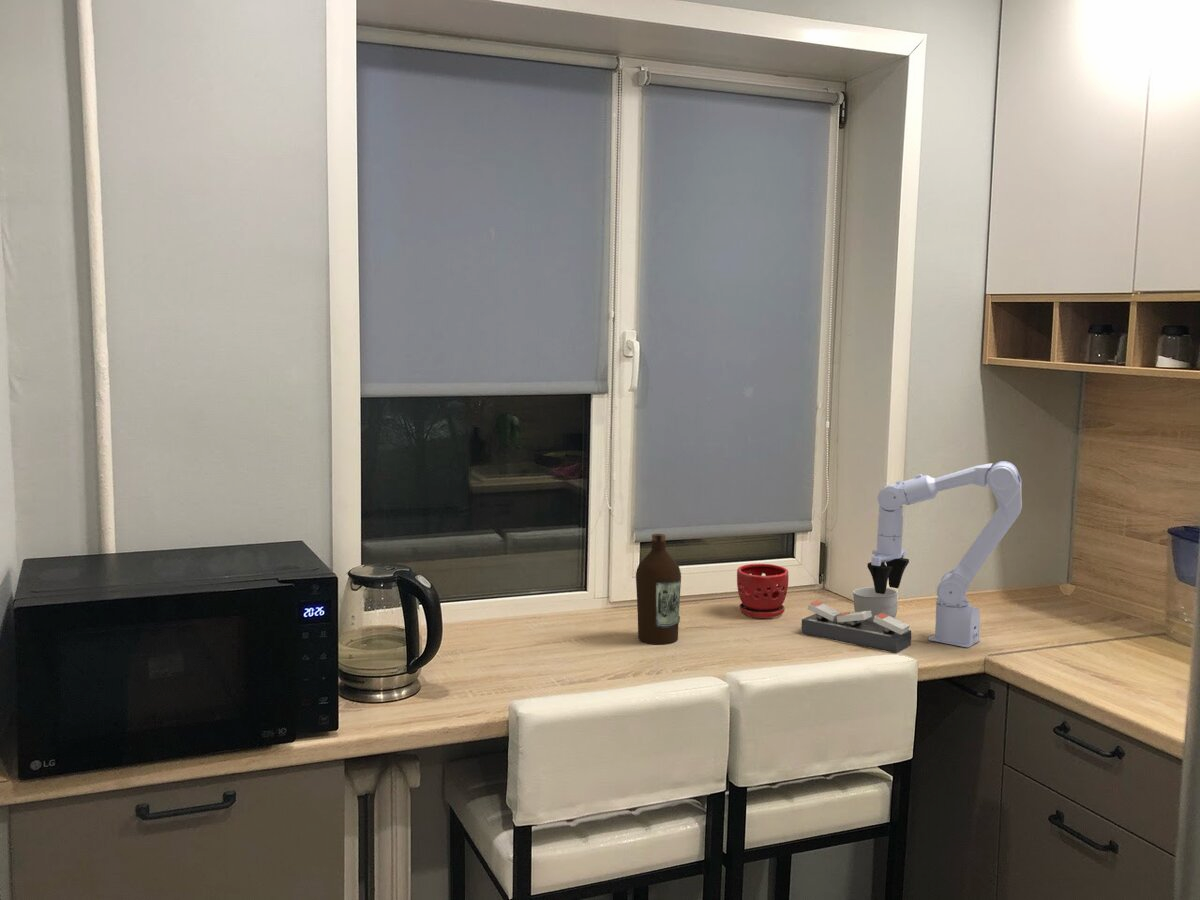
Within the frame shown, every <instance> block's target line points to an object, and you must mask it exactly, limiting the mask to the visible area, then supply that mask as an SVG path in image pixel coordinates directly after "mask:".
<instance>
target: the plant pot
mask: <svg viewBox="0 0 1200 900" xmlns="http://www.w3.org/2000/svg"><path fill="white" fill-rule="evenodd" d="M763 574H765V575H763ZM736 586H737V593H738V596H739V597H738V598H739V599H740V601H741V603H740V604H739V610H740V612H741V613H742V614H743V615H745V616H748V617H751V618H756V619H772V618H773V619H774V618H776V617H779V616H781V615H782V614H783V613H784V612H785V606H784V605H783V604H784V602H785V599H786V597H787V593H788V589H789V570H788V569H787V568H786V567H783V566H780V565H776V564H769V563H751V564H744V565H741V566H739V567H738V568H737V569H736Z"/></svg>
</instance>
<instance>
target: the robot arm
mask: <svg viewBox="0 0 1200 900" xmlns="http://www.w3.org/2000/svg"><path fill="white" fill-rule="evenodd" d="M966 485H967V486H968V485H976V486H979V487H981V488H985V487H986V485H988V487H989V488H990V490H991V492H992V493H993V494H994V497H995V500H996V501H995V502H996V504H997V509H996V510H995V512H994V513H993V515H991V517H990V519H988V522H987V523H986V524H985V525H984V527H983V528H982V530H981V531H980V532H979V534H978V535H977V537H976V538H975V539H974V541H973V542H972V544H971V545H970V546H969V548H968V549H967V550H966V552H965V554H964V555H963V556H962V558H960V560H959V562H957V564H956V565H955V566H954V568H953V569H952V570H950V571H948V572H946V573H945V574H944V575H943V576H942V577H941V579H940V582H939V583H938V585H937V587H936V595H937V598H936V600H935V601H936V602H935V626H934V627H935V628H934V630H935V631H934V634H933V635H932V636H930V637H928V638H927V639H928V640H929V641H932V642H937V643H942V644H948V645H952V646H956V647H957V646H958V647H963V648H970V647H971V646H973V645H975V644H976V643H978V642H980V641H981V638H980V627H981V626H980V625H981V613H980V612H981V611H980V609H979V607H976V606H972V605H970V603H969V602H970V601H969V600H968V598H967V596H966V594H967V592H968V590H969V586H970V584H971V583H972V581H973V580H974V578H975V576H976V574H977V573H978V572H979V571H980V569H981V568H982V567H983V565H984V564H985V562H986V561H987V559H989V557H990V555H991V554H992V553H993V551H994V550H995V549H996V548H997V546H998V545H999V544H1000V542H1001V540H1002V539H1003V538H1004V536H1005V535H1006V533H1008V531H1009V530H1010V528H1011V527H1012V525H1013V524H1014V523H1015V521H1016V520H1017V519H1018V517H1019V516H1020V514H1021V512H1022V510H1023V509H1022V508H1023V497H1022V478H1021V476H1020V473H1019V471H1018V468H1017V466H1015V465H1014V464H1013V463H1012V462H1009V461H1006V460H1005V461H1003V460H1002V461H998V462H996V463H994V464H993V462H992V463H985V464H979V465H975V466H971V467H968V468H965V469H961V470H959V471H956V472H955V471H954V472H952V473H948V474H946V475H942V476H939V477H936V478H935V477H932V476H930V475H928V474H925V475H923V474H922V473H919V474H916V475H915V478H911V479H907V480H904V481H903V480H902V481H901V480H900V479H899V480H896V482H895V484H894V483H890V484H887V485H886V486H884V487H883V488H882V489H880V490H879V492H878V495H877V502H878V505H879V507H878V515H877V536H876V549H874V550H872V551H871V554H873V556H871V562H867V569H868V570H869V572H870V573H869V574H870V575H871V577H872V581H873V587H875V592H876V593H879V594H885V592H886V588H891V589H899V587H900V585H901V581H902V578H903V574H904V573H905V572H904V571H905V570H906V568H907V566H908V564H910V559H909V558H906V548H902V547H903V526H904V525H903V524H904V516H903V515H904V514H903V512H904V511H903V509H904V508H903V507H904V506H910V505H914V504H918V503H922V502H925V501H929V500H933V499H935V498H936V497H937V494H938V492H943V491H946V490H950V489H955V488H959V487H964V486H966ZM903 505H904V506H903ZM887 586H889V587H887Z"/></svg>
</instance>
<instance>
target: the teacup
mask: <svg viewBox="0 0 1200 900" xmlns="http://www.w3.org/2000/svg"><path fill="white" fill-rule="evenodd" d="M898 592H899V591H898V590H896V589H895V588H892V587H886V592H885V594H879V593H876V592H875V587H874V586H865V587H859V588H856V589H853V591H852V594H853V608H854V609H853V610H854V612H861V611H871V613H872V617H870V618H868V619H865V620H862V621H864V622H869V623H874V624H877V623H875V622H873V620H874V616H876V615H878V614H880V613H885V614H887V615H889V616H891V617H893V618H895V617H896V616H897V614H898V594H899V593H898Z"/></svg>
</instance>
